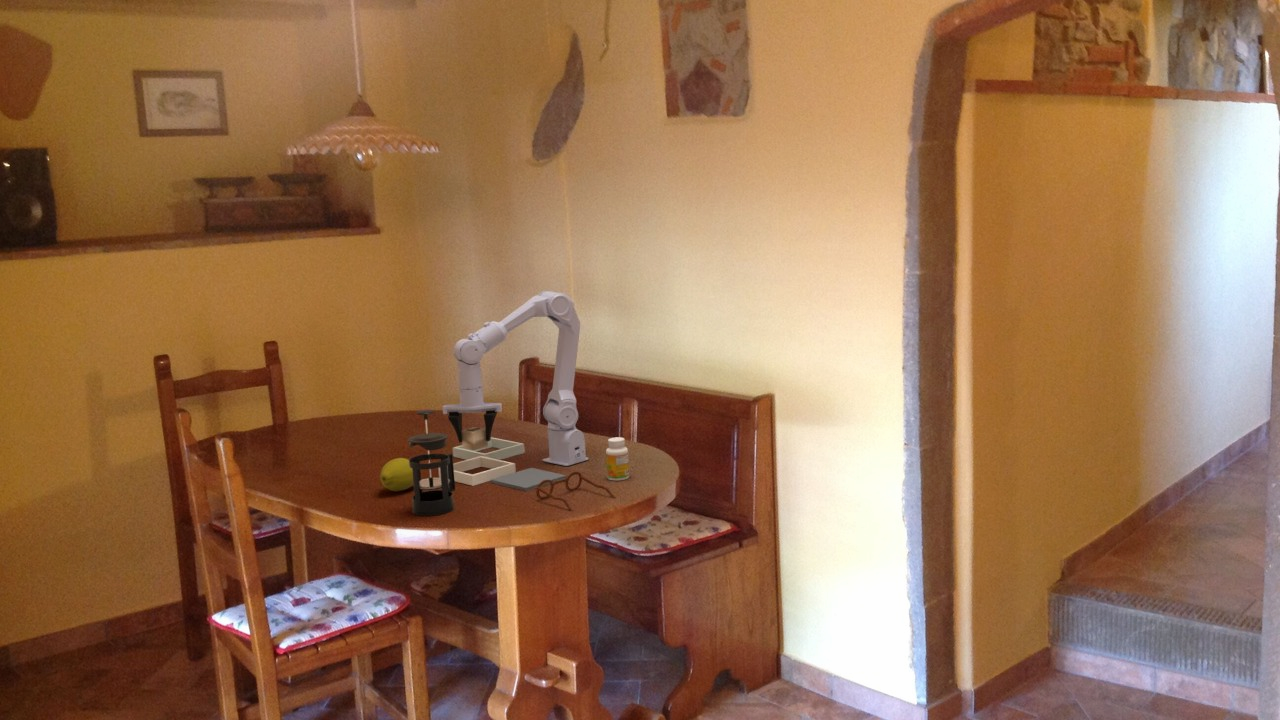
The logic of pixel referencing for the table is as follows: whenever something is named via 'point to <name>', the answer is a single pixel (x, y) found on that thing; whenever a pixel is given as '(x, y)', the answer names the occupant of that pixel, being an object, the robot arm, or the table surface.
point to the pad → (527, 479)
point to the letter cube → (474, 438)
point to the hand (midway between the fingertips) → (474, 440)
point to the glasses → (567, 488)
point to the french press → (435, 499)
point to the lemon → (397, 475)
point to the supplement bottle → (617, 459)
